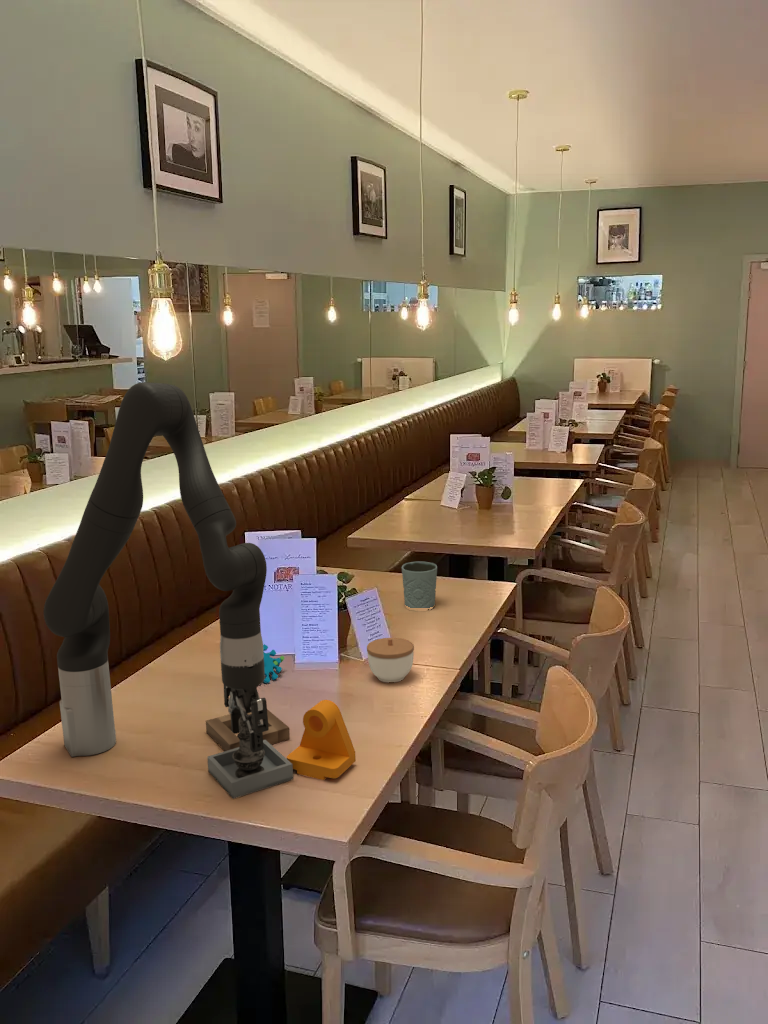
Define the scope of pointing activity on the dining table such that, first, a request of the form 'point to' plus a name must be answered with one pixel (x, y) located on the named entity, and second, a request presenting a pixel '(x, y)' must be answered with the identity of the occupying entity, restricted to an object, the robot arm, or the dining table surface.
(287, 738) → the frame
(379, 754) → the dining table surface
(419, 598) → the green embossed pot
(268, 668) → the teal virus toy
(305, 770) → the bracket
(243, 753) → the dark grey chess piece
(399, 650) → the lidded jar
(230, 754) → the grey tray
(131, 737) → the dining table surface
